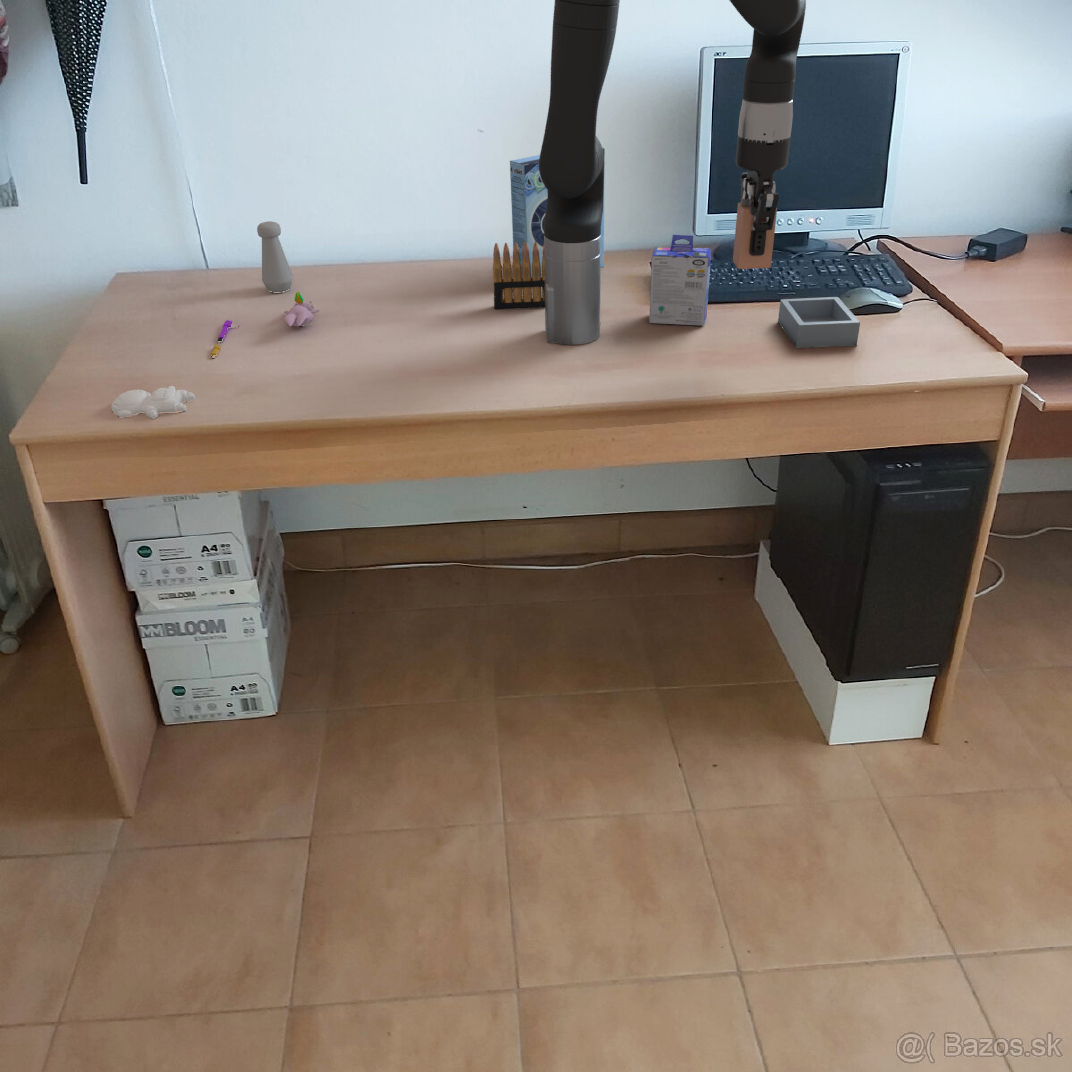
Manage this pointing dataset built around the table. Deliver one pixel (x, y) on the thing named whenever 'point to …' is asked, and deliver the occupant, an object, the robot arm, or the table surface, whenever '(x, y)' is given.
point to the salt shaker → (273, 259)
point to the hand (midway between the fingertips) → (752, 249)
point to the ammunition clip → (518, 279)
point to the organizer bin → (818, 322)
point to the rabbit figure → (300, 312)
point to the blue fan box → (532, 207)
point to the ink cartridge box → (679, 283)
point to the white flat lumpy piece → (151, 402)
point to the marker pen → (221, 336)
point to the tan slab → (743, 240)
